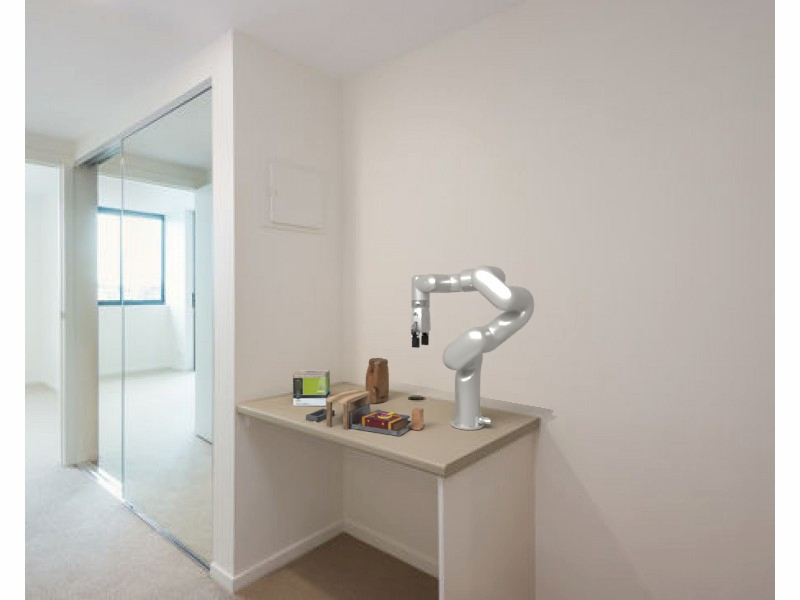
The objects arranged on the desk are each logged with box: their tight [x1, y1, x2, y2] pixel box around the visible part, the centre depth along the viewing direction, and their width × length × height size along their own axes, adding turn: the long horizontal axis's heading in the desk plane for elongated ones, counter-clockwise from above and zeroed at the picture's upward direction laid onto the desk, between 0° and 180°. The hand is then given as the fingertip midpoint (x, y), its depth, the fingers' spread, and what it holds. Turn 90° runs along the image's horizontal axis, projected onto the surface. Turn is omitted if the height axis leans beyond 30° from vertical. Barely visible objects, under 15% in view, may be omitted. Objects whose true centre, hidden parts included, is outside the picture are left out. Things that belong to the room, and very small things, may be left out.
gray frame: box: [305, 408, 336, 423], centre depth 170 cm, size 6×11×2 cm, turn 154°
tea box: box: [292, 369, 331, 407], centre depth 192 cm, size 15×10×15 cm, turn 89°
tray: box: [349, 403, 425, 437], centre depth 157 cm, size 24×14×7 cm, turn 64°
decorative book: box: [360, 409, 411, 431], centre depth 158 cm, size 11×16×5 cm
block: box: [365, 357, 390, 404], centre depth 196 cm, size 11×8×20 cm
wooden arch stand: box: [326, 389, 371, 431], centre depth 164 cm, size 9×17×11 cm, turn 154°
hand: (420, 346), depth 175 cm, fingers open, 9 cm apart
